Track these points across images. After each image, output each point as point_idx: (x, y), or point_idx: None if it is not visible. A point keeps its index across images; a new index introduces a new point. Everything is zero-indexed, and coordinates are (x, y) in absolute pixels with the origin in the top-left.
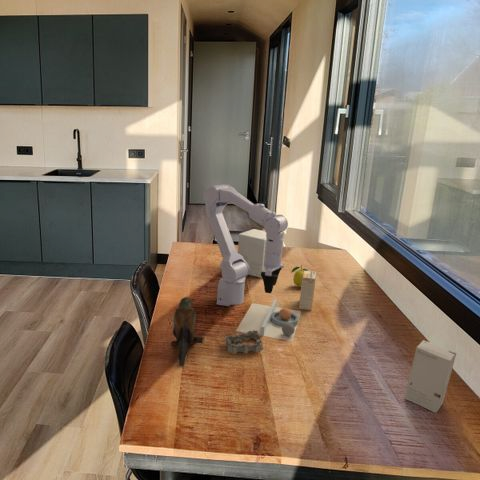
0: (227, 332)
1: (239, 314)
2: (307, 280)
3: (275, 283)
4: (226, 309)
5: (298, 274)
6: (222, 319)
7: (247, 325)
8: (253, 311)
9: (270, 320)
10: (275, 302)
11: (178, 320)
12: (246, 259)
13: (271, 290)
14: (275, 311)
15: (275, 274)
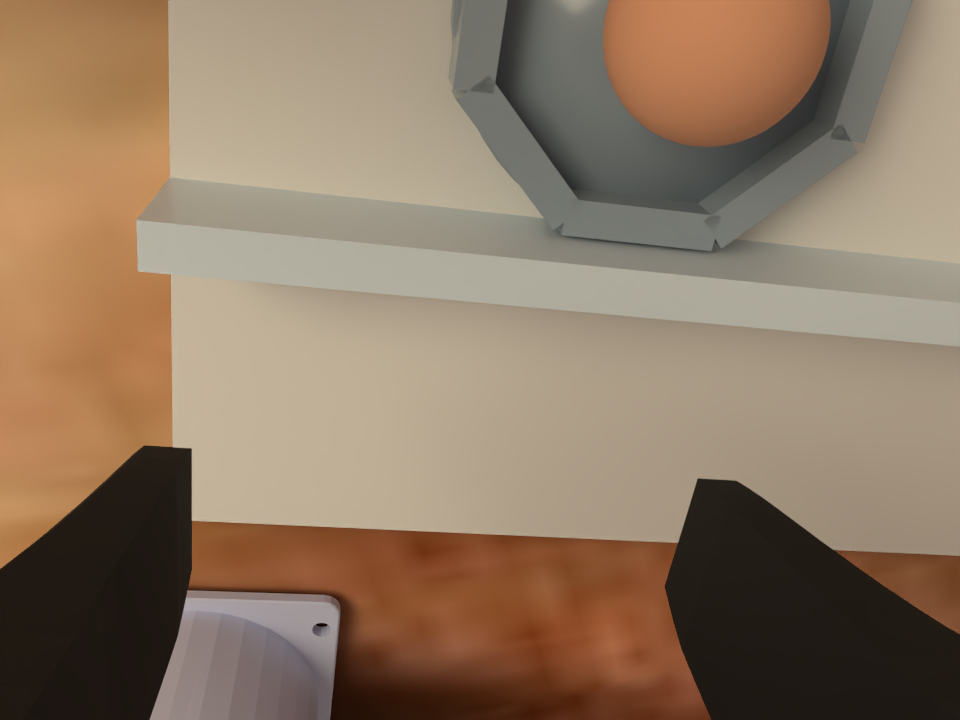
0: (917, 600)
1: (493, 579)
2: None
3: (176, 477)
4: (402, 708)
5: None
6: (649, 689)
7: (841, 476)
8: (447, 470)
9: None
10: (296, 243)
11: None
12: None
13: (783, 523)
14: (352, 184)
15: (90, 716)
